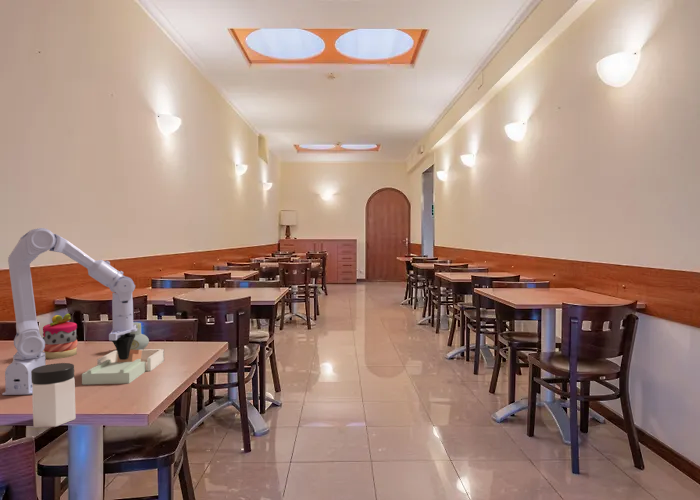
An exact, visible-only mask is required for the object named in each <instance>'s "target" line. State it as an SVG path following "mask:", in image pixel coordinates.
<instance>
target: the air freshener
mask: <svg viewBox="0 0 700 500" xmlns="http://www.w3.org/2000/svg"><path fill="white" fill-rule="evenodd" d="M133 325H136V328H137V331H135V332H130V334H135V338H134V340H133V342H132V344H131V348H130V350H145V348H147V346H148V345H149V344H150V339H149V337H148V336H147V335H146V334H143V333H142V323H141V322H138V321H133Z"/></svg>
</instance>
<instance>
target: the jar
mask: <svg viewBox="0 0 700 500" xmlns="http://www.w3.org/2000/svg"><path fill="white" fill-rule="evenodd" d="M31 380H32V394H31V396H32V424H33V428H35V429H37V428H55V427H59V426H61V425H64V424H66V423H69V422H72V421H75V419H76V385H75V383H76V382H75V381H76V380H75V365H74V364H73V363H72V362H71V363H70V362H61V363H60V362H59V363H56V362H55V363H51V364H46V365H44V366H40V367H37V368H34V369H33V370H32V371H31Z"/></svg>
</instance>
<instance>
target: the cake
mask: <svg viewBox="0 0 700 500" xmlns="http://www.w3.org/2000/svg"><path fill="white" fill-rule="evenodd" d="M71 319H72V318H71V314H70V313H66V314H64V315H63V316H62V315H58V314H56V315H53V316H52V318H51V321H52V322H50V323H47V324H45V325H43V327H42V336H43V337H42V338H43V339H44V341H45V348H44V350H43V352H45V360H57V359H58V360H59V359H66V358H70V357H74V356H76V355H77V354H78V353H77V352H78V351H77V350H78V342H79V341H78V339H77V338H78V334H77V329H78V324H77V323H76V322H73V321H70V320H71Z"/></svg>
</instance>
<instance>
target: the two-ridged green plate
mask: <svg viewBox="0 0 700 500" xmlns="http://www.w3.org/2000/svg"><path fill="white" fill-rule="evenodd" d="M145 372H147V371H146V362H141V359H136V360H135V361H133V362H111V360H106V361H104V362H102V363H100V364H98V365H95V366H93V367H91V368H89V369H88V370H87V371H85V372H82V373H81V385H84V386H85V385H108V384H109V385H111V384H113V385H114V384H115V385H116V384H120V385H121V384H131V383H132V382H133V381H135V380H136V379H137V378H139V377H140V376H141V375H143V374H145Z"/></svg>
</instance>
